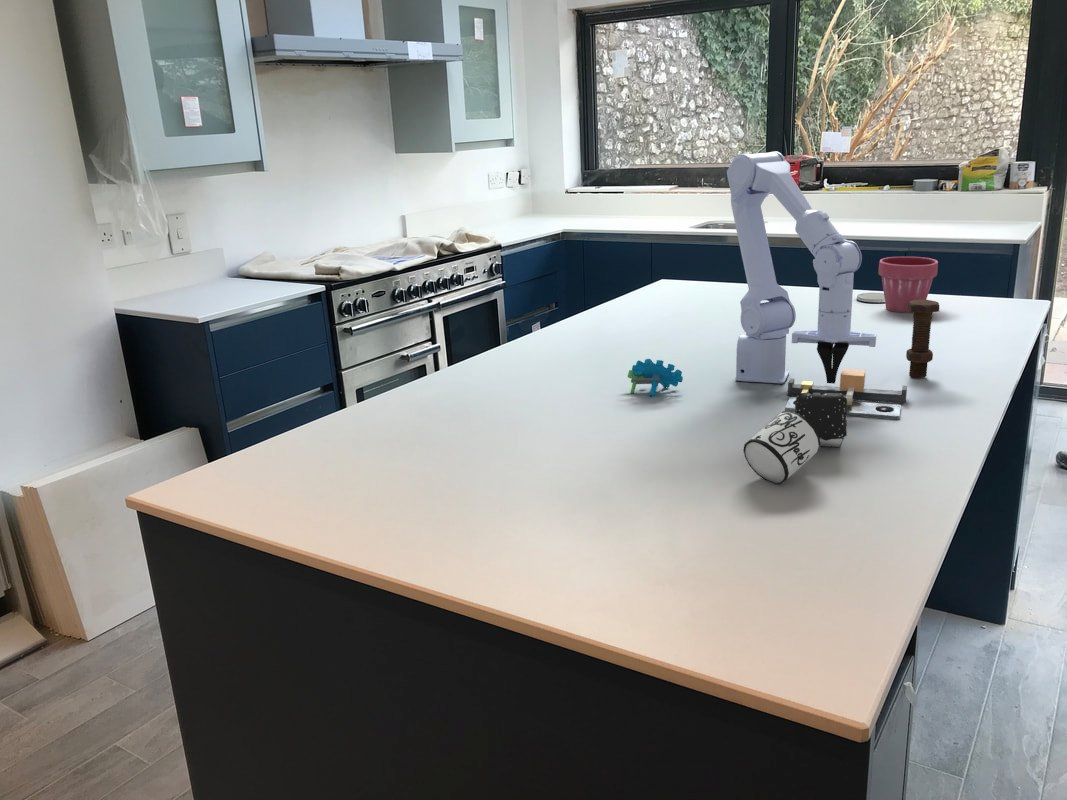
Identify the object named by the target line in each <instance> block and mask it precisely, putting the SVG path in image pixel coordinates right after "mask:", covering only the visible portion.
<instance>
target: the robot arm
mask: <svg viewBox="0 0 1067 800" xmlns="http://www.w3.org/2000/svg"><path fill="white" fill-rule="evenodd" d="M785 158H786V157H785V156H784V155H783V154H782V153H781V152H779V151H776V150H775V151H770V152H759V153H747V154H746V153H740V154H737V155H736V156H735V157H734V158H733V159H732V160H731V163H730V164H729V167H728V168H727V171H726V176H727V181H728V186H729V191H730V206H731V210H732V214H733V220H734V225H735V229H736V233H737V240H738V243H739V244H738V245H739V249H740V255H741V260H742V263H743V269H744V272H745V277H746V283H747V286H748V287H747V289H748V290H747V292H746V293H745V294H744V296H742V298H741V299H740V302H739V303H740V311H741V312H740V324H741V327H742V330H743V331H744V333H741V334H739V335H738V338H737V343H736V356H735V357H736V361H735V363H736V365H735V367H736V370H735V381H736V382H737V381H738V382H751V383H764V384H767V383H768V384H780V385H781V384H785V382H786V380H787V378H788V377H789V374H790V371H789V370H786V355H787V354H786V353H787V350H786V349H787V335H789V334H790V329H791V328H792V327H793V326H794V324H795V323H796V322H795V321H796V318H797V314H796V309H795V307H794V305H793V303H792V301H791V300H790V297H789V293H788V291H787V290H786V289H785V288H783V287H782V286H781V285H779V284H778V283H777V278H776V274H775V273H776V272H775V268H774V264H773V263H774V262H773V260H772V259H773V258H772V254H771V250H770V243H769V239H768V236H767V234H768V233H767V230H766V226H765V220H764V215H763V210H762V205H763V202H764V200H765V199H766V198H767V197H768V196H769V195H770V194H772V195H773V196H774V197H775V198H776V199H777V200H778V202H779V203H780V205H782V206H783V207H784V209H785V210H786V211H787V212H788V213H789V214H790V216H791V217H792V218H793V219H794V221H796V222H795V233H796V234H797V235H798V237H800V239H801V240H802V242H803V243H804V245H805V246H806V247H807V249H808V250H809V251H810V253H811V254H812V255H813V257H814V259H812V265H813V269H814V271H815V273H816V275H817V282H816V283H818V286H819V290H818V291H819V293H818V308H817V309H818V310H817V313H818V315H817V329H816V330H793V331H792V333H791V344H799V343H800V344H802V343H804V344H805V343H806V344H817V347H816V350H817V351H816V352H817V353H818V356H819V358H820V360H821V362H822V365H823V368H824V371H825V378H826V384H834V385H836V384H835V383H836V382H837V381H836V379H837V374H838V371H839V368H840V365H841V363H842V361H843V359H844V357H845V356H846V353H847V351H848V349H849V346H862V347H863V346H867V347H869V348H875V347H876V344H877V334H876V333H865V332H857V331H851V330H852V329H851V328H852V327H851V326H852V325H851V324H852V311H853V293H854V292H853V291H854V276H855V275H854V274H855V272H857V271H858V270H859V268H860V267H861V264H862V259H863V257H862V256H863V254H862V252H861V249H860V248H859V246H858V243H856V242H855V241H853V240H848V239H847V238H846V237H844V236H843V235H842V234H841V233H840V232H839V231H838V230H837V229H836V227H835V226H834V224H833V223H832V222H831V220H829V219H830V216H829V214H828V213H827V212H823V211H822V210H819V209H813V208H812V206H811V204H810V203H809V201H808V200H807V199H806V196H805V195H804V194H803V192H802V191H801V188H800V187H799V186H798V184H797V183H796V181H795V180H794V178H793V176H792V175H791V164H790V163H789V162H788V161H787V160H786V159H785ZM762 301H766V302H762Z"/></svg>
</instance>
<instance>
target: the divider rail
mask: <svg viewBox="0 0 1067 800" xmlns="http://www.w3.org/2000/svg"><path fill="white" fill-rule="evenodd" d="M799 393H810V394H812V395H813V393H820V394H821V395H823V394H825V393H838V394H843V395H844V396H846V394H847V391H841V390H840V386H830V385H829V386H828V385H817V384H816V385H815V384H814V381H809V380H808V381H806V380H802V381H801V383H800V384H798V383H797V384H796V383H795V378H792V377H791V378H789V379H788V381H787V396H788V397H798V395H799ZM907 394H908V385H902V387H901V390H892V389H891V390H890V389H877V388H876V389H875V388H864V389H863V392H856V391H854V393H853V398H852V401H860V402H866V401H867V402H875V401H877V403H889V402H891V403H890V404H892V403H893V404H900V405H906V404H907ZM878 401H879V402H878Z"/></svg>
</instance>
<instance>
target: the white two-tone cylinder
mask: <svg viewBox="0 0 1067 800" xmlns="http://www.w3.org/2000/svg"><path fill="white" fill-rule="evenodd" d="M795 398H796V402H795V412H794V411H785V410H784V411H782V412H780V413H779V414H778V415H777V416H775V417H774V418H773V419H772V420H771V421H770V422H768V423H767V424H766V425H765V426H763V428H762V429H760V430H759V431H758V432H757V433H756V434H755V435H753V436H752V437H750V438H749V440H747V442H745V443H744V446H743V449H742V450H743V454H744V458H745V460H746V462H747V464H748V466H749V467H750V468H751V469H752V470H753V472H754V473H755V474H756V475H757V476H759V477H760V478H761V479H763V481H765V482H768V483H771V484H774V485H781V484H783V483H785V482H786V481H787V480H788V479H789V478H790V477H791V476H793V475H794V474H795V473H796V472H797V471H799V469H800V468H801V467H802V466H803V465H804V464H806V463H807V462H808V461H809V460H811V458H812V457H813V456H815V455H816V454H817V453H818V452H819V450H820V448H821V447H831V446H832V447H834V448H835V447H837V448H838V447H839V448H841V446H842V444H843V441H844V439H845V437H847V433H848V432H847V426H848V423H847V417H848V416H847V399H846V397H845V396H844V395H843V394H838V393H825V394H823V395H821V394H820V393H813V395H812V394H810V393H799V395H798V396H796V397H795ZM832 447H831V448H832Z"/></svg>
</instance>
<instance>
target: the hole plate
mask: <svg viewBox="0 0 1067 800" xmlns="http://www.w3.org/2000/svg"><path fill="white" fill-rule="evenodd" d="M796 398H797V397H796V396H789V398H788V401H787V402H786V404H785V406H784V411H792V412H795V402H796ZM901 405H902V404H895V403H893V404H892V403H890V404H889V403H881V402H877V403H876V402H866V401H852V405H847V416H846V417H862V418H863V417H864V418H876V419H887V420H888V419H889V420H900V417H901V416H900V415H901V407H902V406H901Z"/></svg>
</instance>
